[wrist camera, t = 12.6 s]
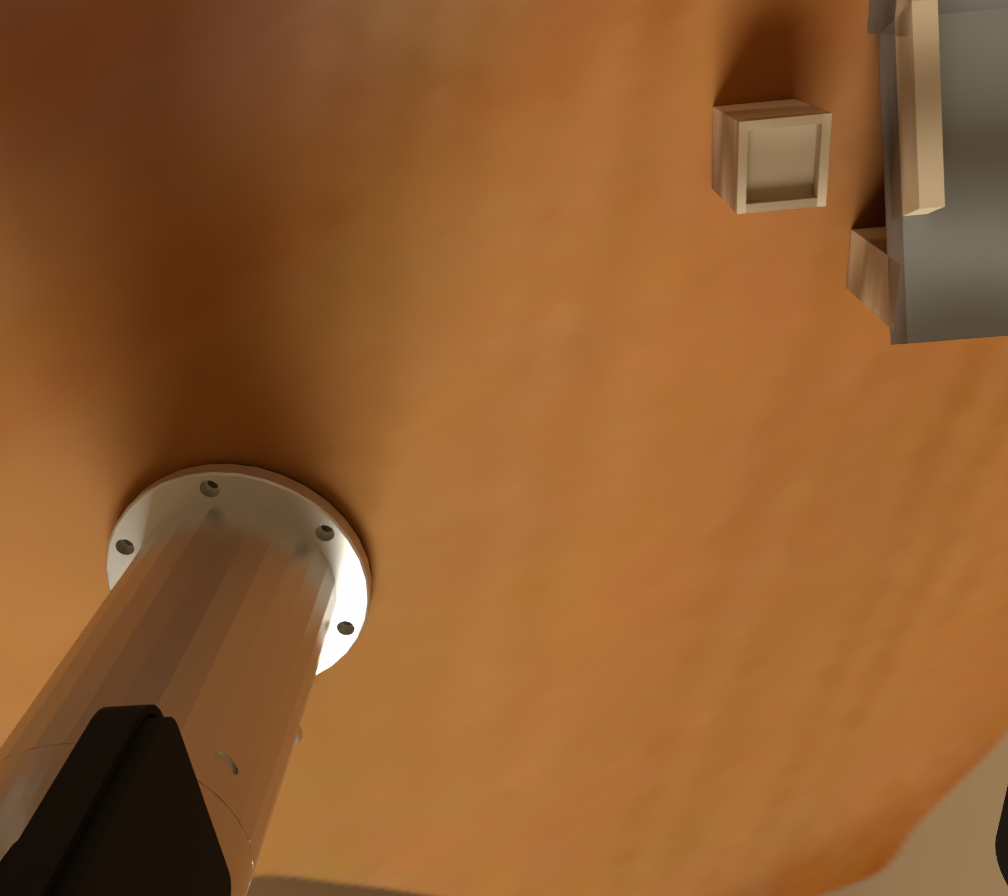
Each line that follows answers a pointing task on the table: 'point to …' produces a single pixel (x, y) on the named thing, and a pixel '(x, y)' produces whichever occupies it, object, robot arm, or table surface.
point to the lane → (939, 173)
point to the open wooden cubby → (771, 155)
